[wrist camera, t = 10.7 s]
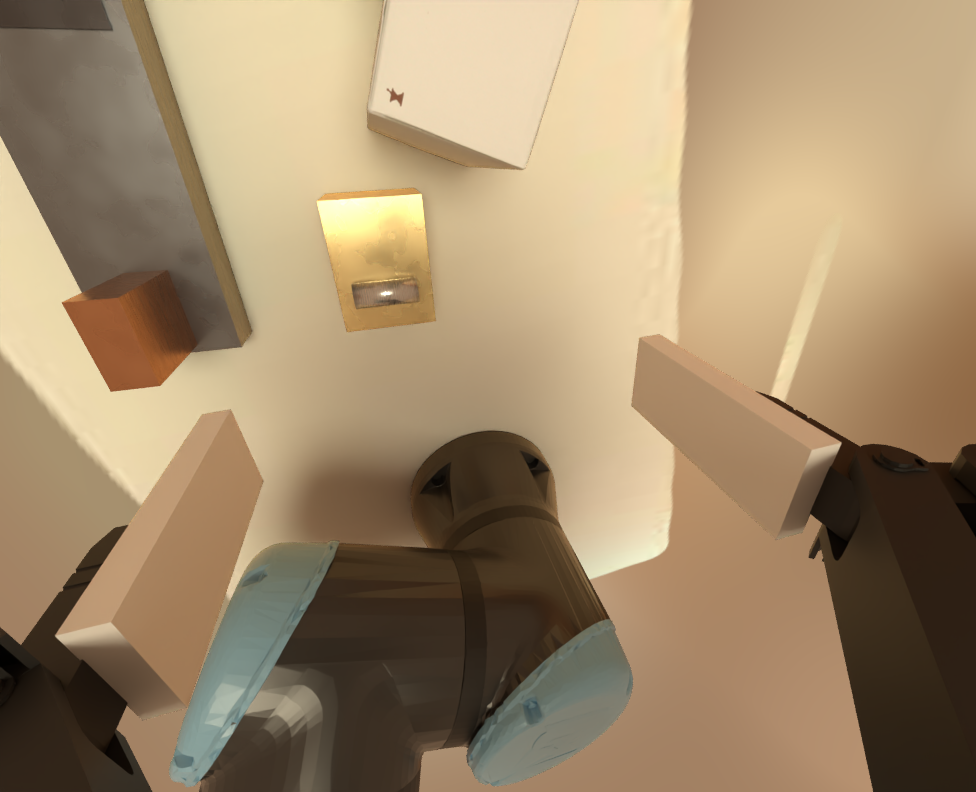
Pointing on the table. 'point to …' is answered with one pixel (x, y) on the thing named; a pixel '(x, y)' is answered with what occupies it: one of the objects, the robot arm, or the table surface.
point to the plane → (116, 185)
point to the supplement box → (467, 76)
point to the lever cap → (379, 257)
